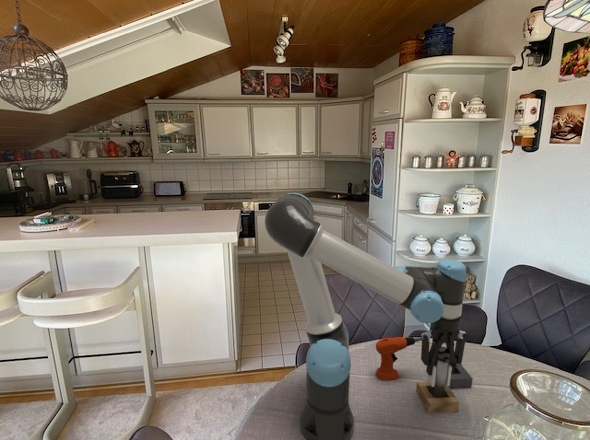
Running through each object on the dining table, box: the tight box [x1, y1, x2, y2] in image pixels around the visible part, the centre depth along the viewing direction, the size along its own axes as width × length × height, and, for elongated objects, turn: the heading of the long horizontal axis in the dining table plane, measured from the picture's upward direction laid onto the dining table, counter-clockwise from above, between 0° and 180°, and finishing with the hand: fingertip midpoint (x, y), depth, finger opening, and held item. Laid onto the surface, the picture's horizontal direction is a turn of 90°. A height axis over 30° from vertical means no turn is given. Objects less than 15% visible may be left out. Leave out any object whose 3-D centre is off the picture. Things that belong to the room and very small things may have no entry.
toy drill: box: [375, 336, 422, 381], centre depth 114 cm, size 5×19×15 cm, turn 97°
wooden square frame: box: [415, 380, 460, 414], centre depth 104 cm, size 9×9×4 cm
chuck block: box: [449, 363, 474, 390], centre depth 114 cm, size 10×10×4 cm
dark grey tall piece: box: [430, 346, 451, 398], centre depth 102 cm, size 7×5×15 cm, turn 3°
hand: (438, 382), depth 103 cm, fingers closed on dark grey tall piece, 4 cm apart
